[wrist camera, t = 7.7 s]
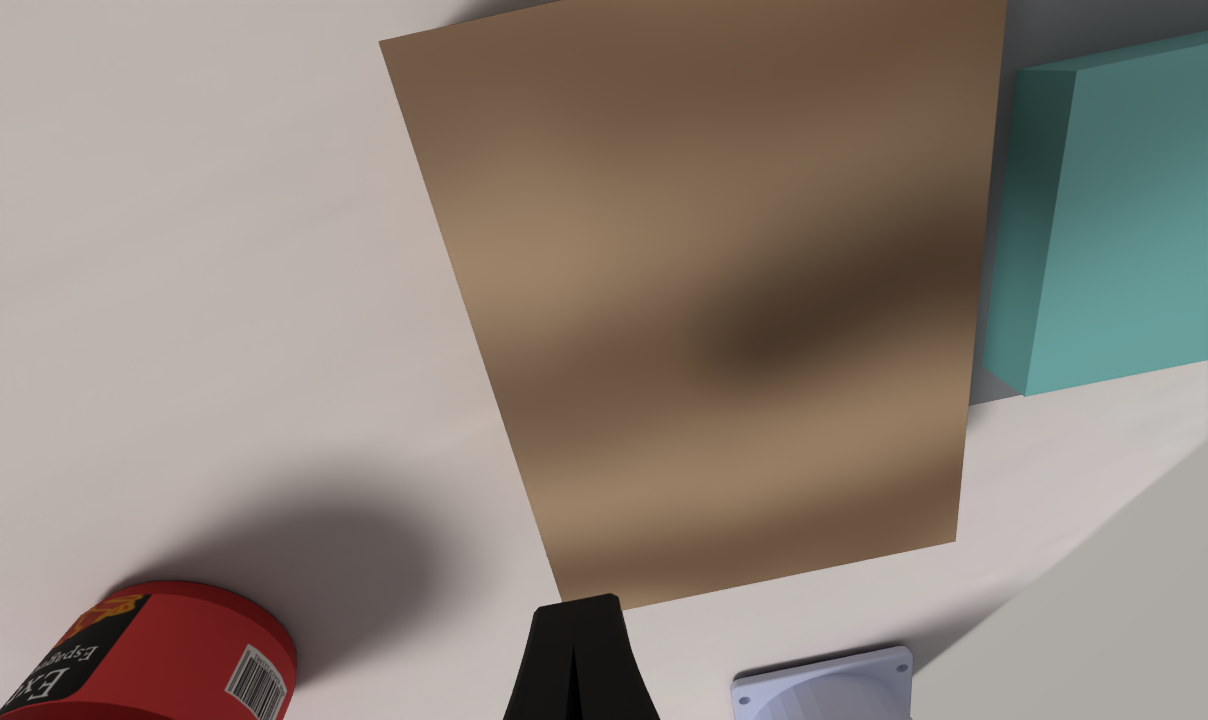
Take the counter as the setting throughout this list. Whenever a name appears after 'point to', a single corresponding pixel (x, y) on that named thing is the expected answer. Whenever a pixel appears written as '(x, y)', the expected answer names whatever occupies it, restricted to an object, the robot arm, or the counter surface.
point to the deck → (718, 270)
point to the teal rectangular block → (1103, 219)
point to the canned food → (164, 660)
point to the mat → (1044, 35)
